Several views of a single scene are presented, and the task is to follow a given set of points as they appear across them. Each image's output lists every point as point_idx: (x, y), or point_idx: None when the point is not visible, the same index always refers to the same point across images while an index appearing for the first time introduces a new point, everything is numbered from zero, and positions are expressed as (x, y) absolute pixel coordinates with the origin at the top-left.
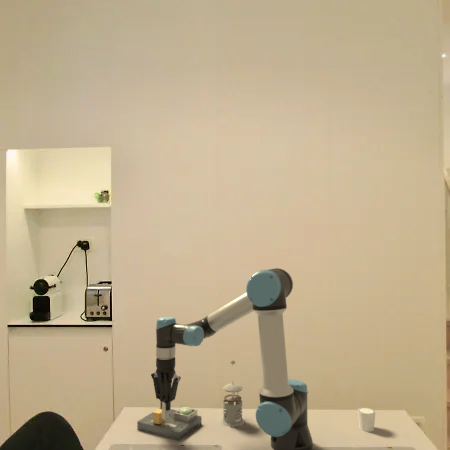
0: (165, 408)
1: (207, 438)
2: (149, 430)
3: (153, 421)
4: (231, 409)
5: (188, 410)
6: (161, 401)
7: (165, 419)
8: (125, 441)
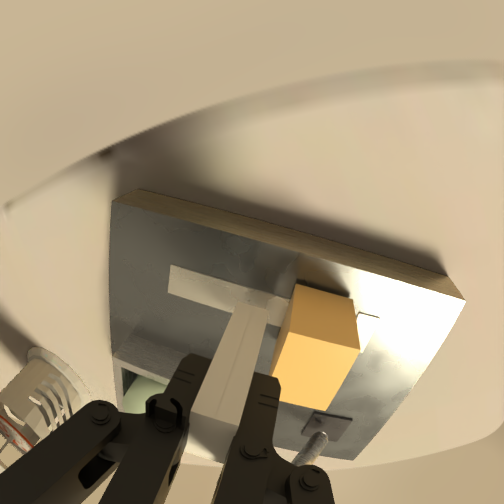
0: (210, 369)
1: (47, 249)
2: (364, 254)
3: (347, 302)
4: (9, 390)
5: (135, 406)
6: (258, 439)
7: None
8: (464, 109)
